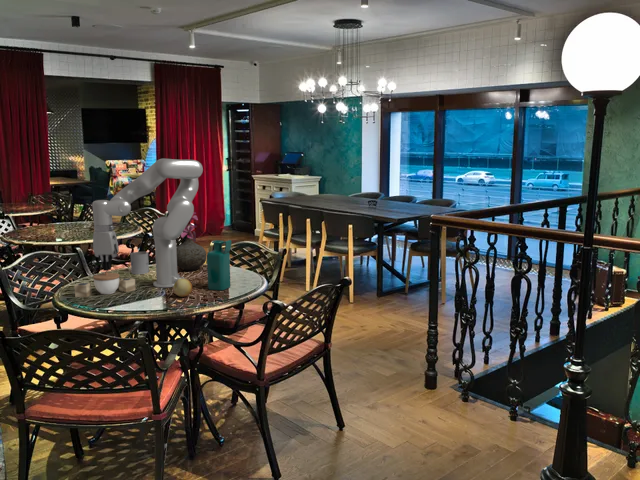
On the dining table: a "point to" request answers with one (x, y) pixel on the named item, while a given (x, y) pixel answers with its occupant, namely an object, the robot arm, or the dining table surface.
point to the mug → (139, 262)
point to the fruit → (182, 287)
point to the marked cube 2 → (127, 284)
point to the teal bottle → (219, 266)
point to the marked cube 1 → (83, 290)
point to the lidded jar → (106, 282)
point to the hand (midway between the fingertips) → (107, 269)
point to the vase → (190, 250)
